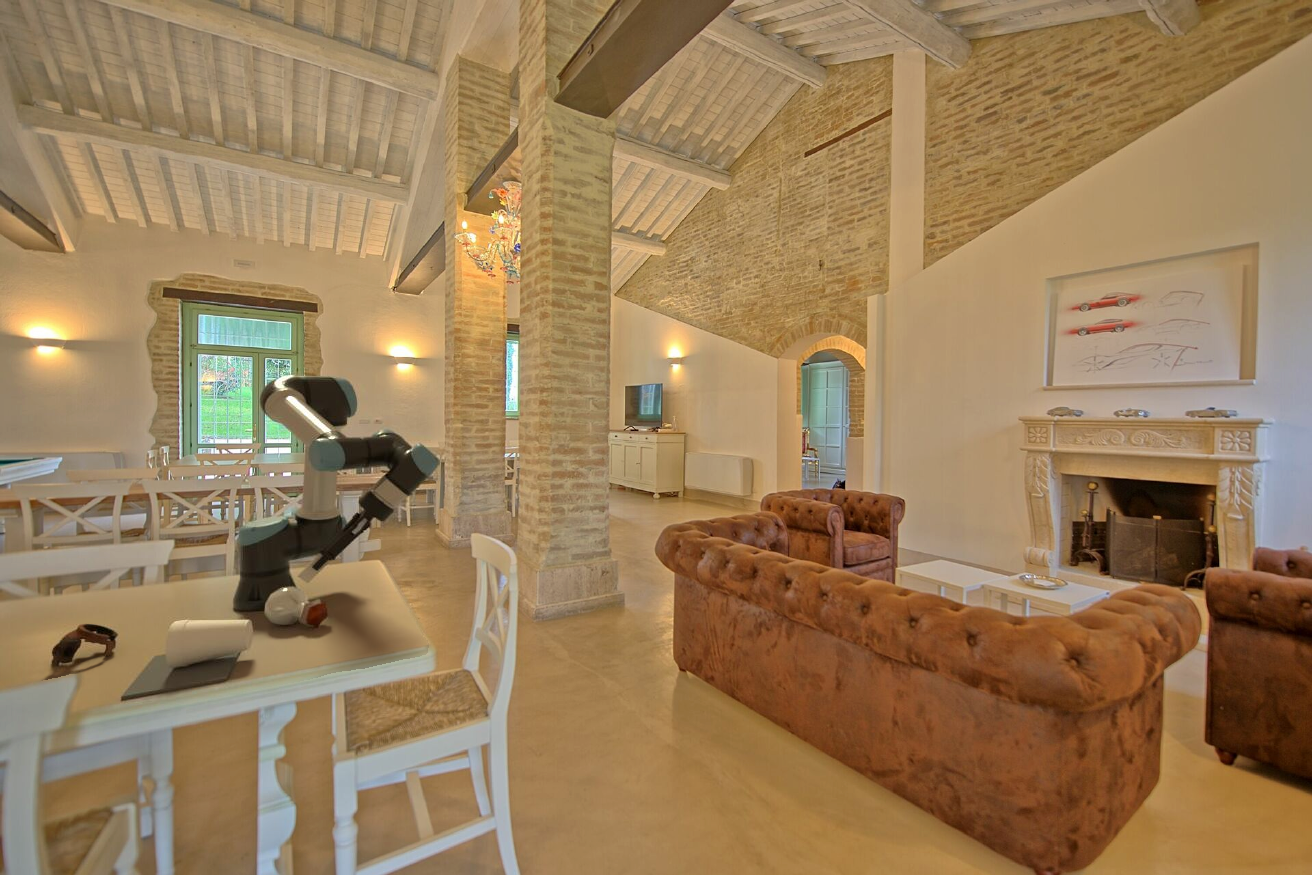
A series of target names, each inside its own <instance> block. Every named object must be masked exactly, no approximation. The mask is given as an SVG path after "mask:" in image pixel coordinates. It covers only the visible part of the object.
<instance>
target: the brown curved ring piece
mask: <svg viewBox="0 0 1312 875" xmlns="http://www.w3.org/2000/svg"><path fill="white" fill-rule="evenodd" d="M118 636H119V634H118V632H117V631H116V630H113V629H112V628H109V627H107V626H103V625H99V624H95V623H94V624H93V623H82V624H78V626H77V628H76V629H74V630H72V631H70V632H68V633H67V634H65V635H64V636H63V637H62V638H61V639H60V640H59V641H58V643H57V644H55V646H54V647H53V648H52V650H51V656H52V660H51V664H52V665H53V666H55V667H59V666H60V664H63V665H64V664H69V663H72V662H73V659H74V657H75V654H76V653H77V652H78V650H79V649H80V647H81V646H82V642H84V643H90V644H99V645H103V646H105V650H104V652H103V655H104V656H105V657H109V656H110V655H111V653H113V650H114V649H115V648H116V645H117V641H116V638H117V637H118ZM82 640H83V641H82Z"/></svg>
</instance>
